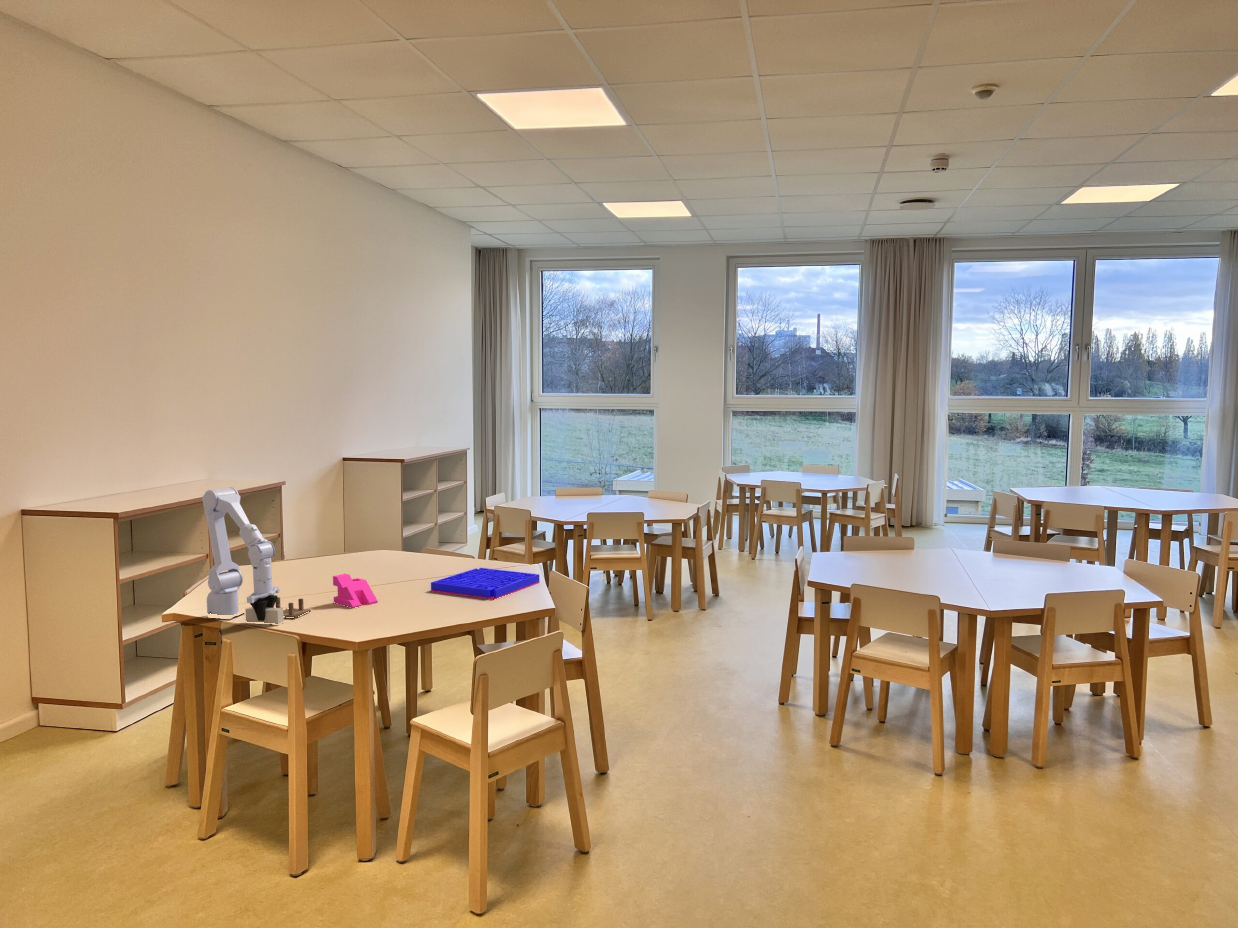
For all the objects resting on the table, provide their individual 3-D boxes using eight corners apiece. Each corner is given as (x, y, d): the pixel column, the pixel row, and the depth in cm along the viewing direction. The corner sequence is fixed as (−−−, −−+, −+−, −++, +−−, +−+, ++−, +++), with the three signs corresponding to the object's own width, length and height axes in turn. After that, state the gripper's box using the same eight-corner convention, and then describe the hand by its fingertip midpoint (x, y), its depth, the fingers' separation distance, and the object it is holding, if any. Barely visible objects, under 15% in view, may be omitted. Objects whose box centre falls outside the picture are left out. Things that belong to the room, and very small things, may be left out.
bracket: (333, 603, 300) (332, 575, 299) (358, 598, 308) (357, 571, 307) (352, 609, 293) (351, 580, 292) (377, 603, 301) (376, 575, 300)
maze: (431, 592, 318) (430, 582, 318) (479, 576, 344) (478, 567, 344) (494, 601, 304) (494, 590, 304) (539, 584, 330) (539, 574, 330)
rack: (258, 616, 283) (257, 602, 282) (274, 610, 292) (274, 596, 291) (295, 618, 280) (294, 604, 279) (310, 612, 289) (309, 597, 288)
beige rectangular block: (246, 623, 275) (245, 608, 274) (251, 621, 278) (251, 606, 277) (278, 625, 272) (277, 610, 272) (283, 622, 275) (283, 608, 275)
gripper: (259, 584, 266) (261, 625, 267) (286, 574, 280) (288, 613, 281) (240, 583, 267) (242, 624, 269) (268, 573, 281) (270, 612, 283)
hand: (264, 619), depth 275 cm, fingers closed on beige rectangular block, 3 cm apart
